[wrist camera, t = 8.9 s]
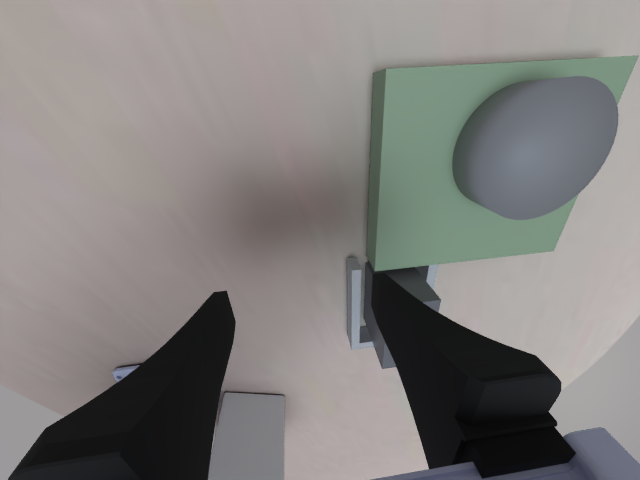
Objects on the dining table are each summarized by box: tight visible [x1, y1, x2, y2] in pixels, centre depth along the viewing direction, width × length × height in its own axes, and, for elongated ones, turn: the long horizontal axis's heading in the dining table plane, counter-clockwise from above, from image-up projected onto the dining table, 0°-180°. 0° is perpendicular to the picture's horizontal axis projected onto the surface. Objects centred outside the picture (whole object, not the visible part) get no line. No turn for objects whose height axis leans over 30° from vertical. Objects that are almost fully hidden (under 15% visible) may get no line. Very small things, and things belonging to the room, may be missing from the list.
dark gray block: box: [364, 262, 441, 369], centre depth 23 cm, size 7×4×6 cm, turn 3°
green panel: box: [347, 56, 638, 350], centre depth 20 cm, size 24×18×6 cm
